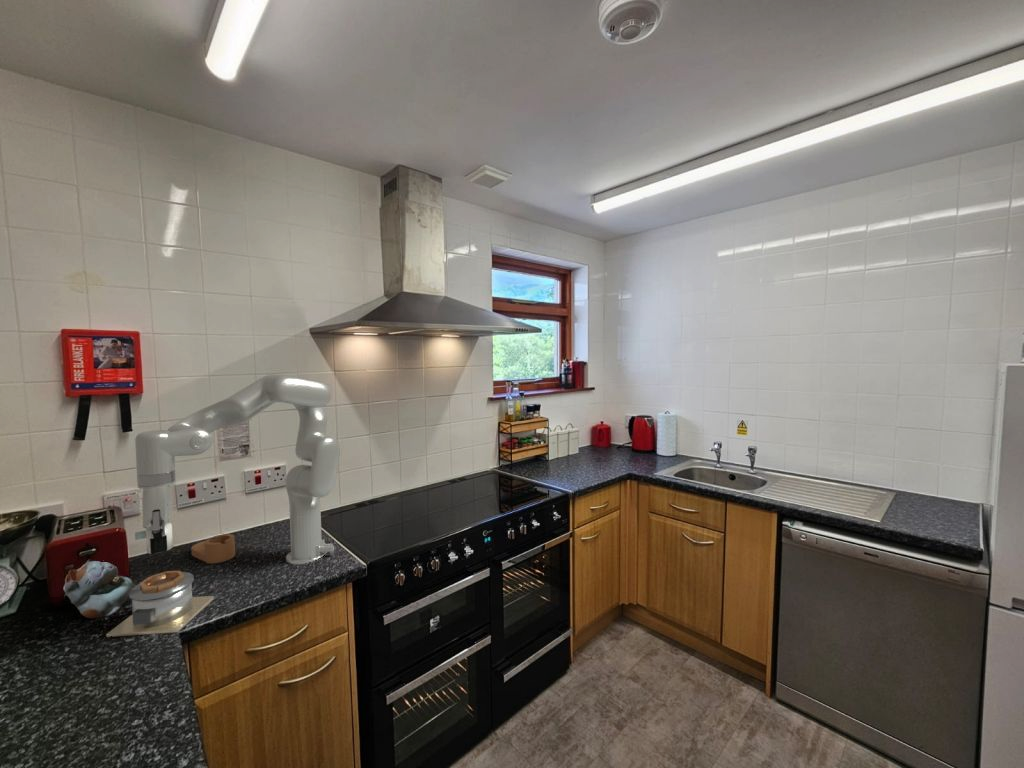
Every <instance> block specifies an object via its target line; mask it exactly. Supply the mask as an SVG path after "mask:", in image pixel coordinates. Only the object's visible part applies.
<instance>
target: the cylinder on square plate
mask: <svg viewBox="0 0 1024 768" xmlns="http://www.w3.org/2000/svg"><path fill="white" fill-rule="evenodd" d="M194 577H195V576H194V574H193V573H191V572H186V571H181V570H170V571H169V570H167V571H164V572H160V573H157V574H153V575H149V576H148V577H146V579H144V580H143V581H141V582H140V583H138V584H137V585H134V587H133V588H132V589H131V590H130V592H129V598H130V599H129V600H131V605H132V606H131V608H132V609H131V610H132V614H131V615H130V616H128V617H127V618H126V619H124V620H123V621H122V622H120V623H119V624H118V625H116V626H115V627H114V628H112V629H111V630H110V631H108V632H106V633H105V636H106V638H109V637H111V636H112V637H124V636H127V637H128V636H139V635H141V636H143V635H154V634H170V633H171V634H172V633H179V631H180V630H182V629H183V628H184V627H185V626H186V625H187V624H188V623H189V622H190V621H192V620H193V618H195V617H196V616H197V615H198V614H199V613H200V612H202V611H203V609H205V608H206V606H208V605H209V604H210V603H211V602H212V601H213V600H214V599H215V596H214V595H208V596H207V595H204V596H193V586H192V585H193V584H192V583H193V582H194ZM112 637H111V638H112Z"/></svg>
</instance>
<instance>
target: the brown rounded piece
mask: <svg viewBox="0 0 1024 768" xmlns="http://www.w3.org/2000/svg"><path fill="white" fill-rule="evenodd" d="M235 545H236V544H235V535H234V534H231V533H226V534H225V533H224V534H219V535H213V539H212V538H210V537H209V538H207V539H206V540H204V541H200V542H198V543H195V544H193V545H192V546H191V548H190V549H191V556H193V557H194V558H196V559H199V560H200V561H203V562H205V563H207V564H220V563H222V562H226V561H229V560H232V558H234V557H235V556H236V547H235Z"/></svg>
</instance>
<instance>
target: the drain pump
mask: <svg viewBox="0 0 1024 768" xmlns="http://www.w3.org/2000/svg"><path fill="white" fill-rule="evenodd" d="M160 524H163V522H160ZM150 527H151V525H149V526H148V527H147V528H145V530H143V531H137V532H135V533H134V539H135V541H136V540H142V539H145V540H146V553H147V554H149V555H150V554H151V548H150V538H151V528H150ZM160 528H161V529H162V527H160ZM165 535H167V551H170V550H171V549H172V548H173V547H174V543H173V542H174V541H173V524H172V522H168V523H167V524H165ZM160 553H162V552H160ZM160 553H159V554H160ZM151 555H152V554H151Z"/></svg>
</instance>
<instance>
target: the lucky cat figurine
mask: <svg viewBox="0 0 1024 768" xmlns="http://www.w3.org/2000/svg"><path fill="white" fill-rule="evenodd" d="M100 561H101V560H100ZM100 561H97V560H92V559H89V558H88V560H86V562H84V563H83V564H82V566H81V567H79V568H77V569H70V570H68V574H66V577H65V579H64V585H63V591H64V593H65V595H66V597H68V598H69V600H70V603H71V604H73V605H74V606H75V607H76V608H77V610H79V613H80V614H81V615H82V616H83V617H85V618H86V619H98V618H101V617H109V616H110V615H112V614H114V613H116V612H117V611H118V610H119V609H120V608H121V607H122V605H124V604H125V603H126V602H127V601H129V600H131V599H130V598H129V592H130V590H131V589H132V588H133V587H135V583H134V582H133V580H132V579H131V578H130V577H127V576H124V575H119V570H118V567H117V566H115V565H114V564H113V563H112V564H111V563H109V562H100Z"/></svg>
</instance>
